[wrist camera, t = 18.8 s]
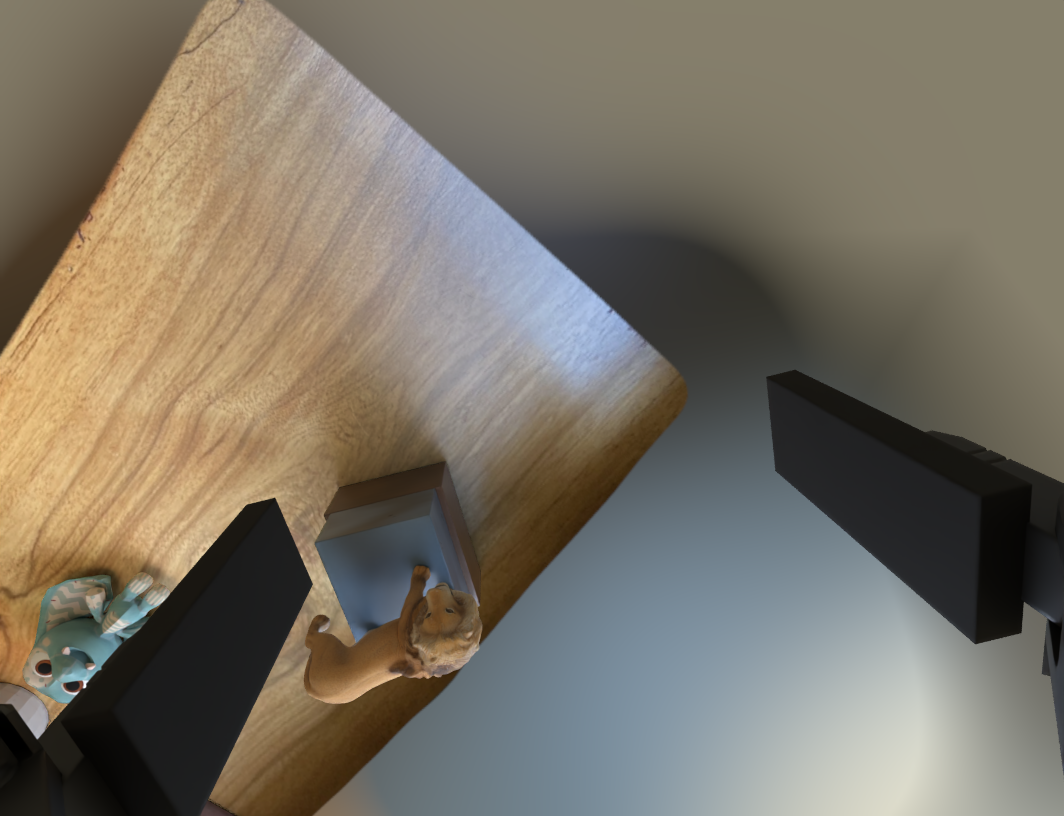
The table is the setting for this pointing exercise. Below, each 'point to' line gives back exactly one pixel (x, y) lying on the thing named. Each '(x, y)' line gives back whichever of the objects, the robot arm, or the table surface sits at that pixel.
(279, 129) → the table surface
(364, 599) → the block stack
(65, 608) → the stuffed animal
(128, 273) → the table surface
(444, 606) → the lion figurine
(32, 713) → the coffee cup
